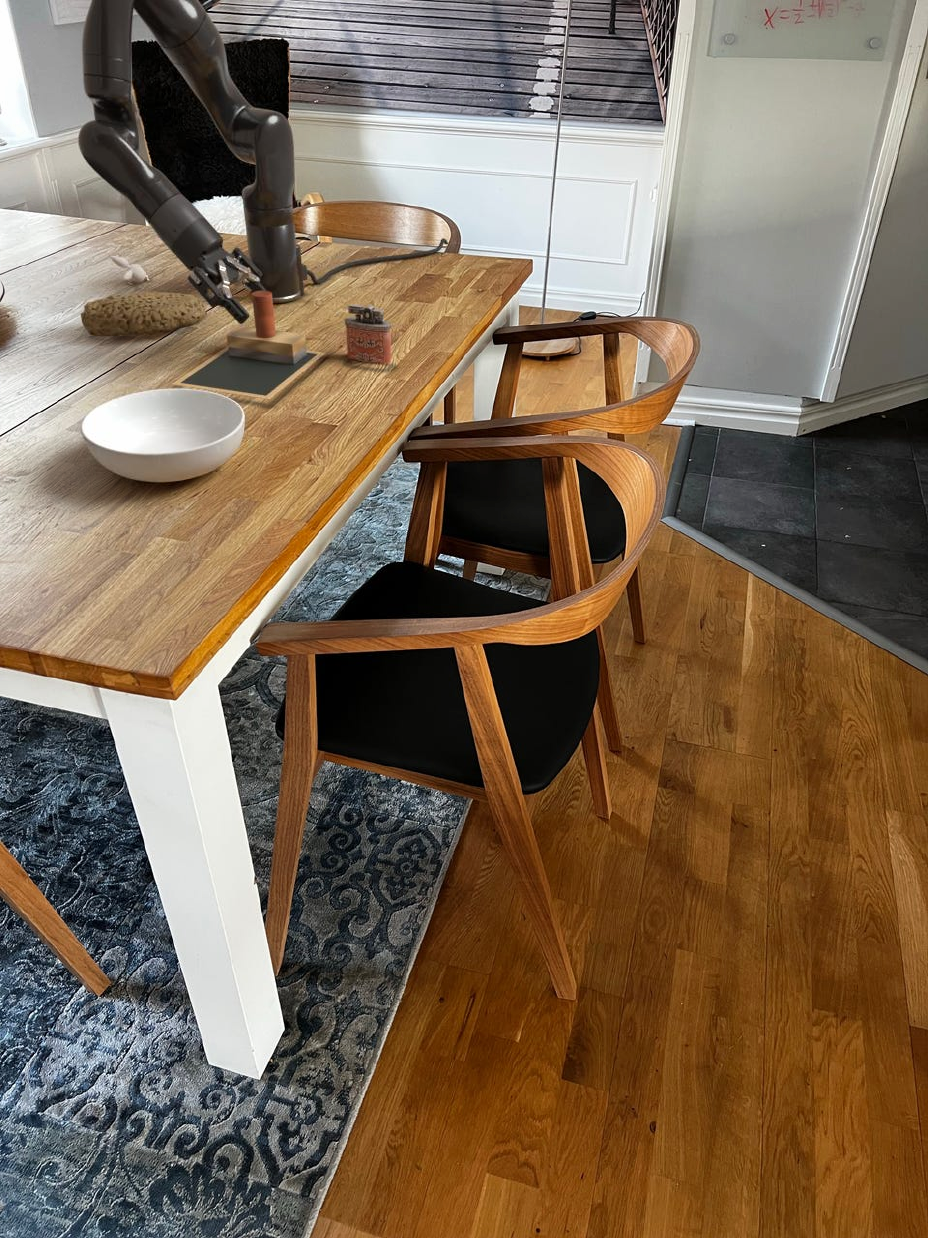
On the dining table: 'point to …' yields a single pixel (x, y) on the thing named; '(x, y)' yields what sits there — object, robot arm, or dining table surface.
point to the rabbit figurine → (130, 270)
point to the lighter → (368, 335)
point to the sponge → (141, 314)
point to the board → (245, 374)
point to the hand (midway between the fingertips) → (258, 312)
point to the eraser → (266, 336)
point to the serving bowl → (164, 433)
